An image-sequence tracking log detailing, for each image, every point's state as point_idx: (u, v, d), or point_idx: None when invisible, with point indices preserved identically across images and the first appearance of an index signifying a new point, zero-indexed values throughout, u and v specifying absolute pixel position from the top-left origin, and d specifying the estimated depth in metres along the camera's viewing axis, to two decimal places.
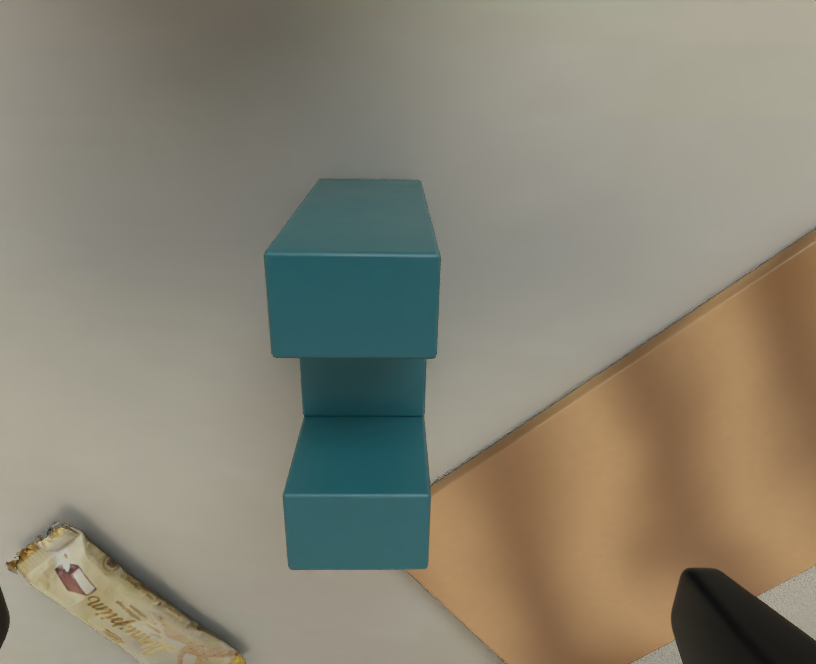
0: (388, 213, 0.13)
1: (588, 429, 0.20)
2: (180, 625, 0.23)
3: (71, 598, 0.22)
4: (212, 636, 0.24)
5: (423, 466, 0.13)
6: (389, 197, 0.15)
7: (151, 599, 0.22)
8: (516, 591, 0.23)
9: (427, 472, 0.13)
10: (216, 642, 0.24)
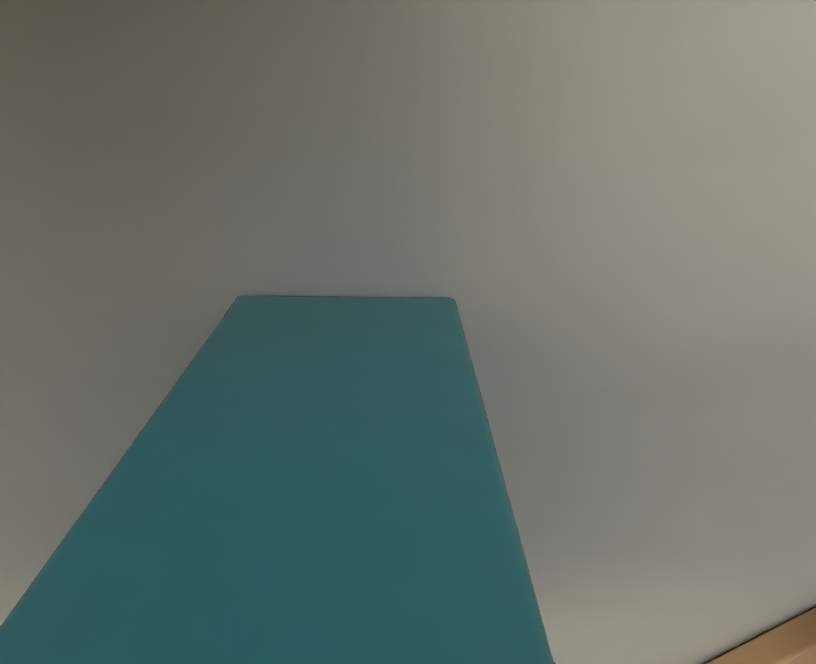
0: (382, 547, 0.04)
1: None
2: None
3: None
4: None
5: None
6: (387, 397, 0.06)
7: None
8: None
9: None
10: None
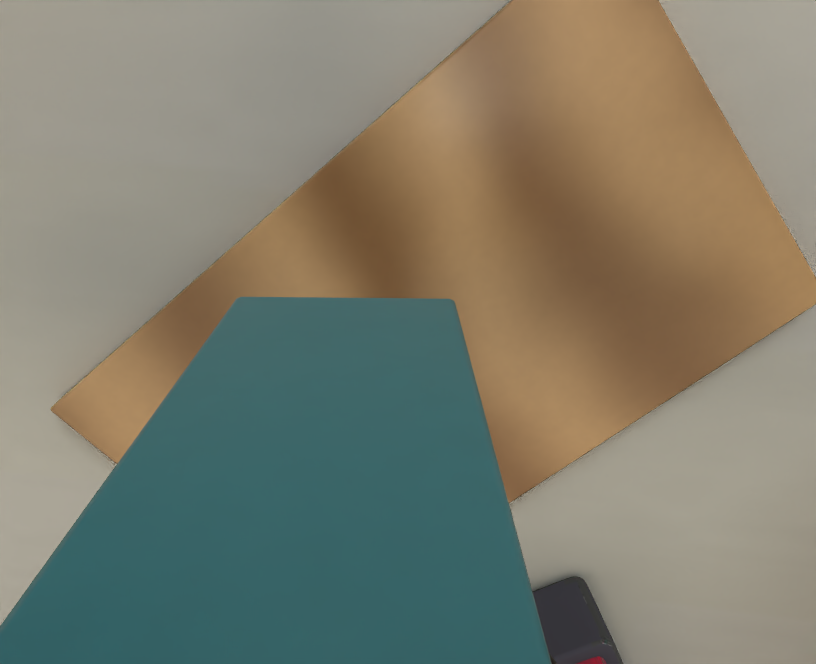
0: (381, 550, 0.04)
1: (284, 263, 0.17)
2: None
3: None
4: None
5: None
6: (386, 399, 0.06)
7: None
8: None
9: None
10: None
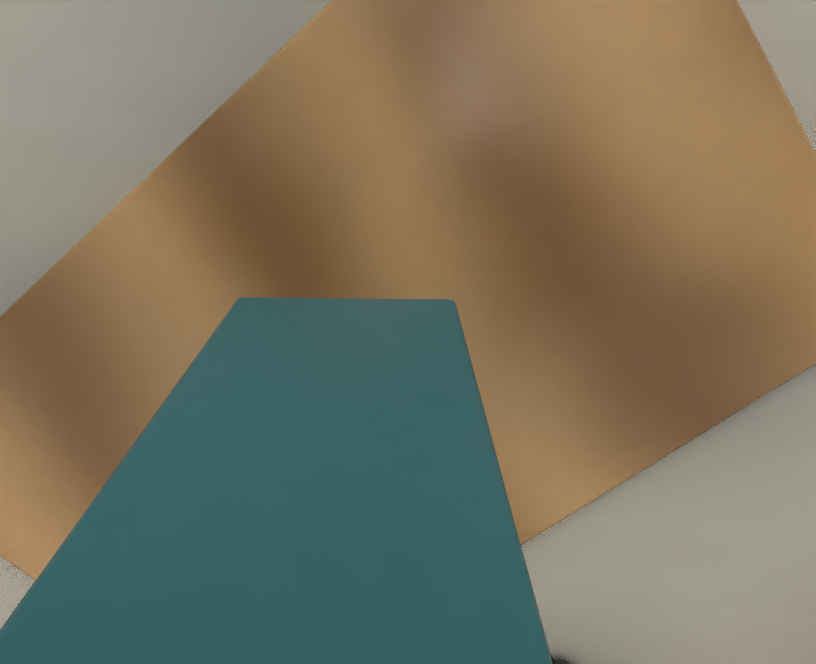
0: (382, 552, 0.04)
1: (154, 262, 0.12)
2: None
3: None
4: None
5: None
6: (387, 400, 0.06)
7: None
8: None
9: None
10: None
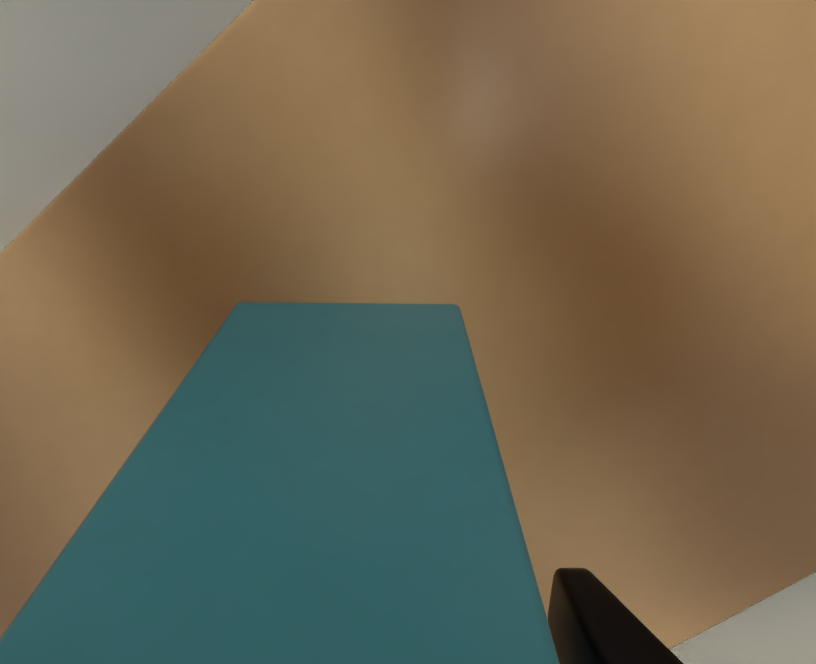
0: (387, 575, 0.04)
1: (48, 347, 0.08)
2: None
3: None
4: None
5: None
6: (391, 410, 0.05)
7: None
8: None
9: None
10: None
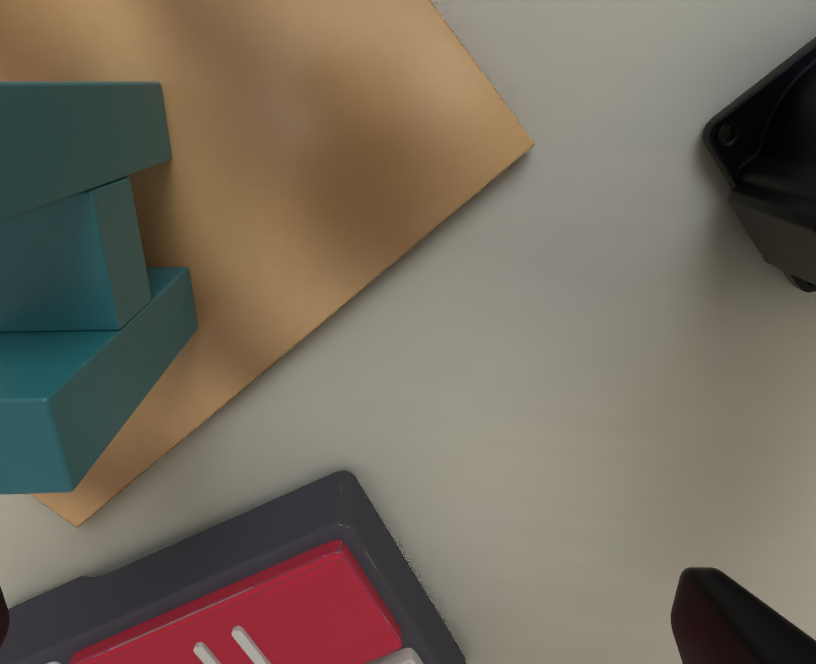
0: None
1: None
2: None
3: None
4: None
5: (68, 373, 0.11)
6: None
7: None
8: None
9: (68, 379, 0.11)
10: None
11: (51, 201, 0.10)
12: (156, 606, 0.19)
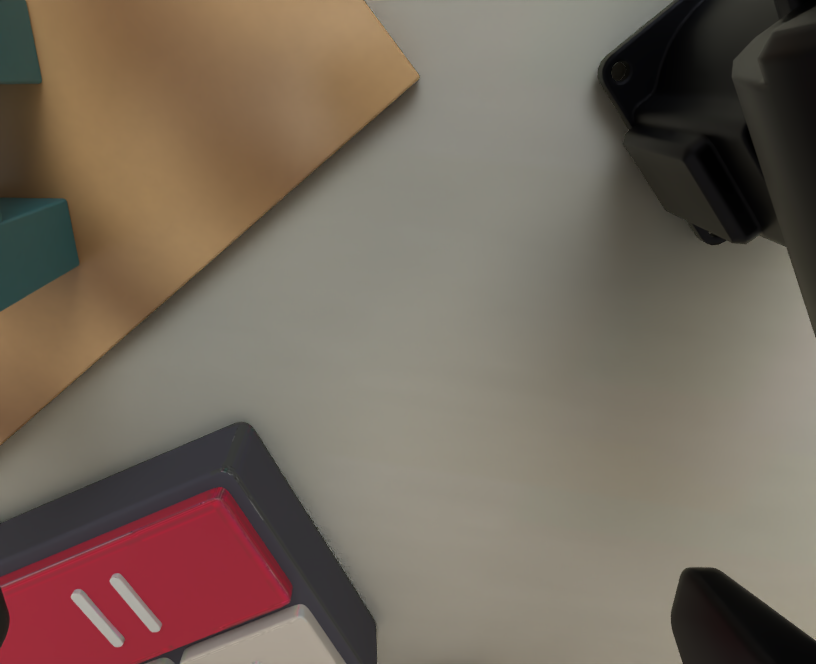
0: None
1: None
2: None
3: None
4: None
5: None
6: None
7: None
8: None
9: None
10: None
11: None
12: (35, 551, 0.19)
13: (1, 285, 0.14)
